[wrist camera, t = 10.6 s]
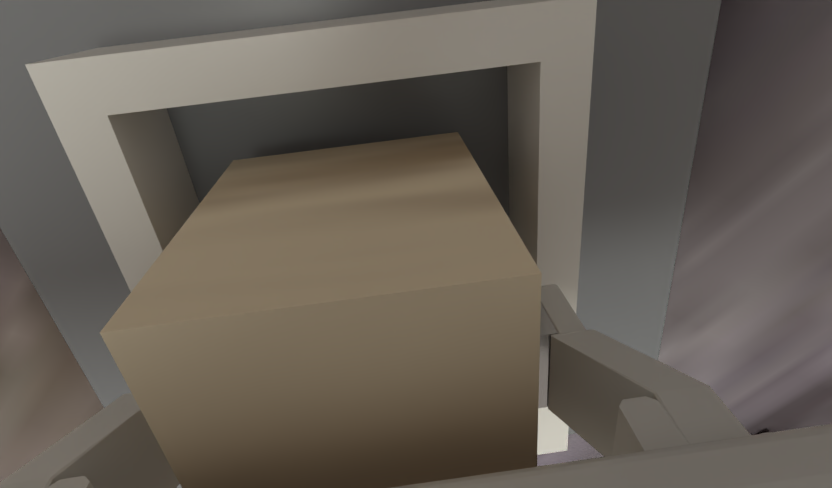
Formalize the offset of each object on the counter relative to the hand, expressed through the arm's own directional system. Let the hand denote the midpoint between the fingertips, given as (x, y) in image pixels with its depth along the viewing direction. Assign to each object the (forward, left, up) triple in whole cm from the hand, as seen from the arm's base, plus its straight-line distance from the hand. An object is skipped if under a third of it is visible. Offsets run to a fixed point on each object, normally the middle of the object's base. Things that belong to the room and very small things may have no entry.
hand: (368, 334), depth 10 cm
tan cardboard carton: (0, 0, -2) cm, 2 cm away
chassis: (0, 0, -5) cm, 5 cm away
